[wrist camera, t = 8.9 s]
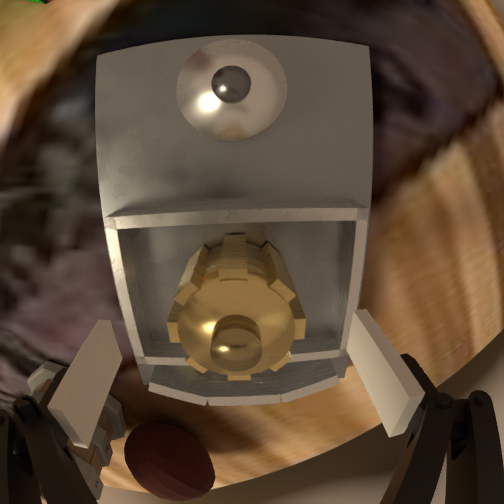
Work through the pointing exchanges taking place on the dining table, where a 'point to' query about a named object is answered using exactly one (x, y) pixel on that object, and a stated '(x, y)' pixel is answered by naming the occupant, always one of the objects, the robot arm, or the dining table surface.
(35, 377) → the tankard
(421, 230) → the dining table surface
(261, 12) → the dining table surface
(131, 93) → the carrier
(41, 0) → the puzzle cube
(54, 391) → the robot arm
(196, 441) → the potato
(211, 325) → the gear
